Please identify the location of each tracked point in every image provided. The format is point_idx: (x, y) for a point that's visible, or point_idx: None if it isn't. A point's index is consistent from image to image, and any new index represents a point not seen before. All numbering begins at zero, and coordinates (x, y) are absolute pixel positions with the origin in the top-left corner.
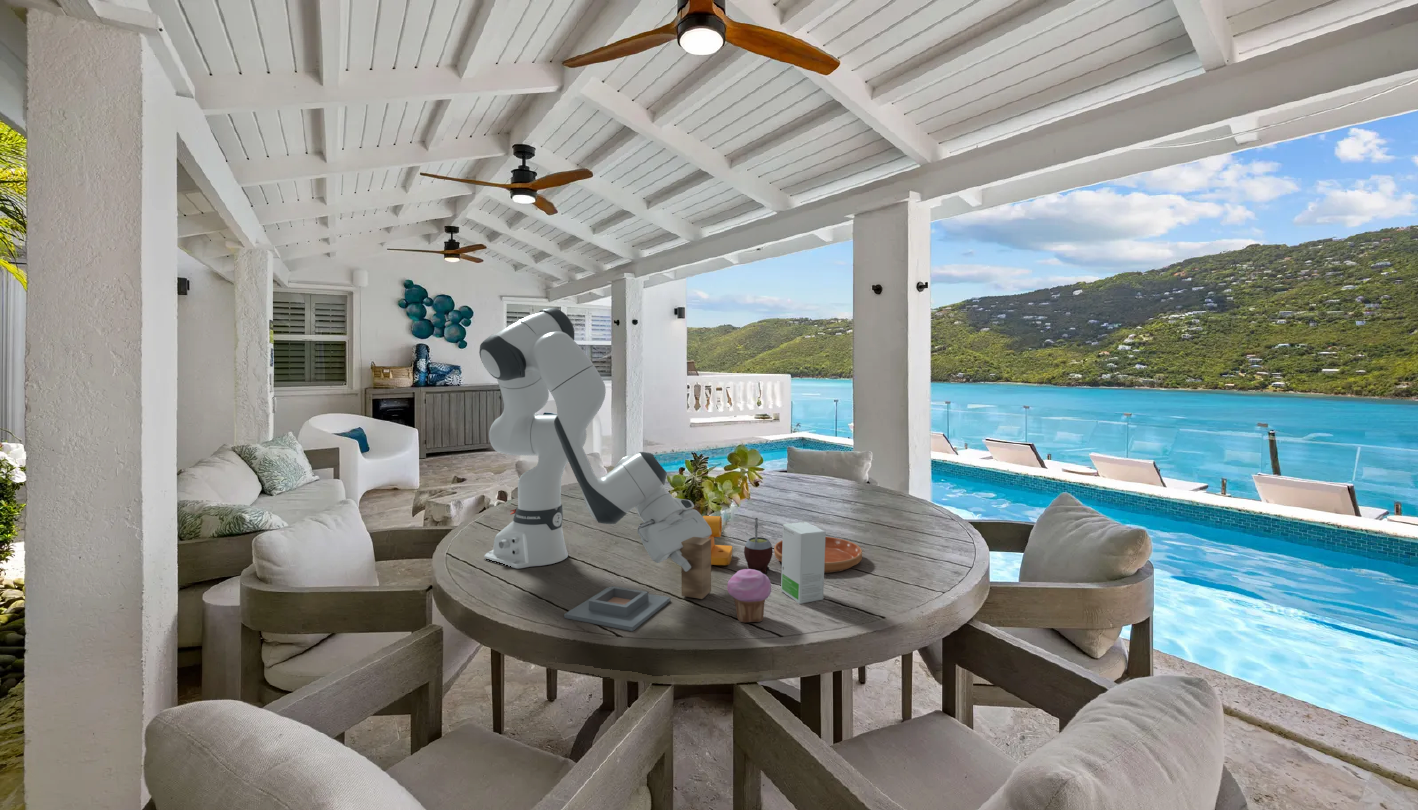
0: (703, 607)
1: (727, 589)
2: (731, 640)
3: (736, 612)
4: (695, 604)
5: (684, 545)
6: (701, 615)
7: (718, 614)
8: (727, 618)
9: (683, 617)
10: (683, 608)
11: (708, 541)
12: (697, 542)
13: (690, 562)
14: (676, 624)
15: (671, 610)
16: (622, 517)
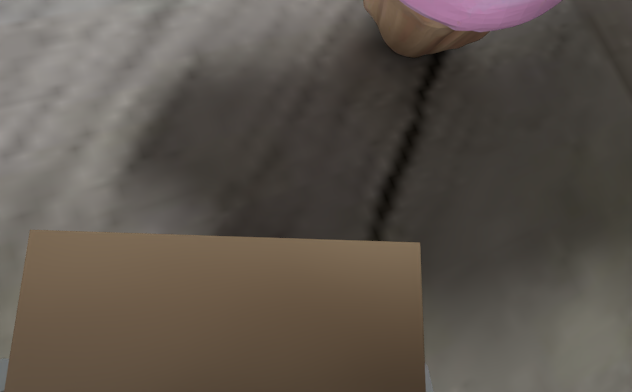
0: None
1: (537, 15)
2: (609, 34)
3: (469, 39)
4: None
5: None
6: (470, 218)
7: (427, 149)
8: (448, 100)
9: (525, 290)
10: (435, 337)
11: (146, 237)
12: (328, 367)
13: None
14: (600, 288)
15: (483, 387)
16: None
